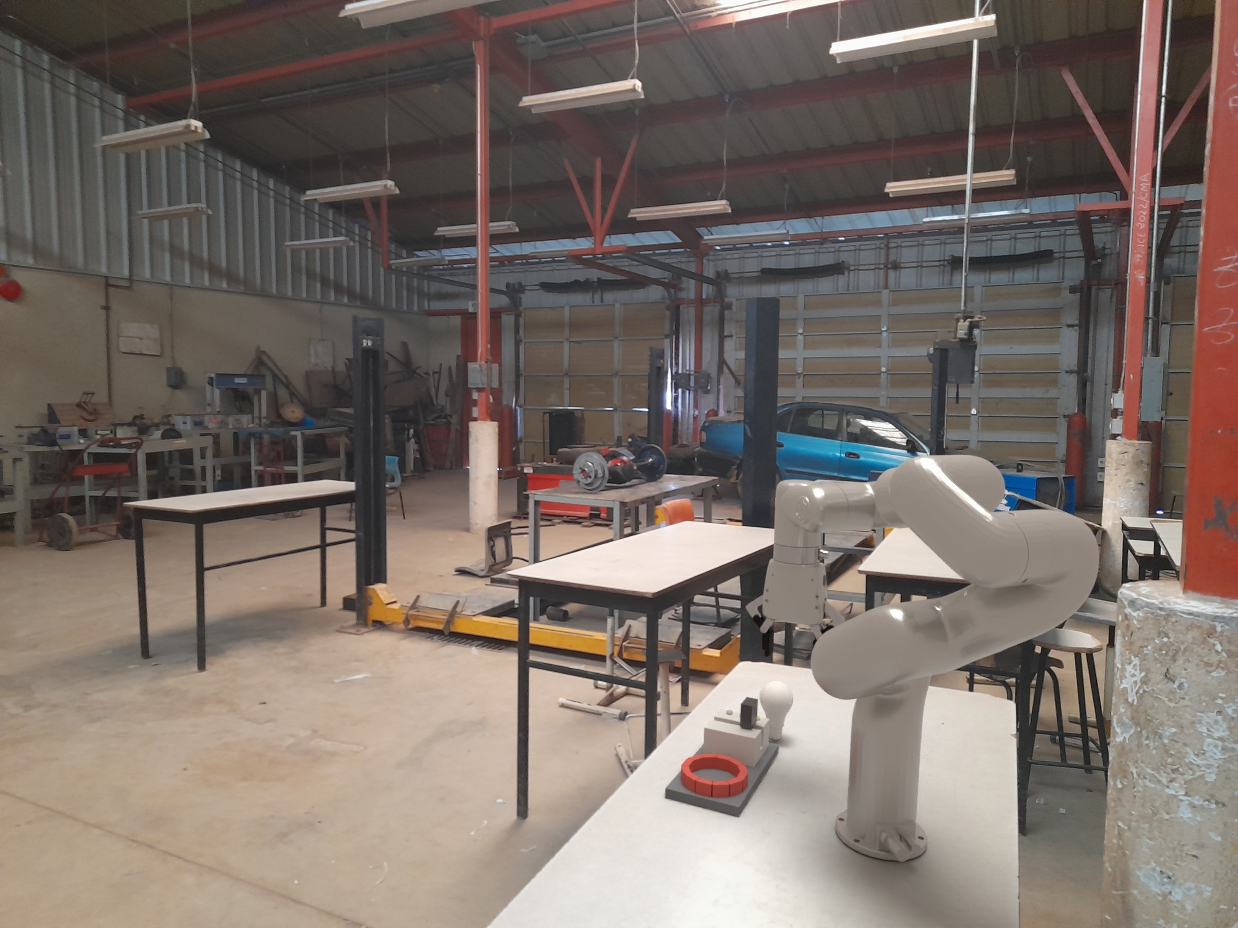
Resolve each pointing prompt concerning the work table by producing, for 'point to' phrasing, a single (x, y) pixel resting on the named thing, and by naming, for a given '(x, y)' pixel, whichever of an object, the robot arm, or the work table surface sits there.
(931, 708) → the work table surface
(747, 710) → the block
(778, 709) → the lightbulb
